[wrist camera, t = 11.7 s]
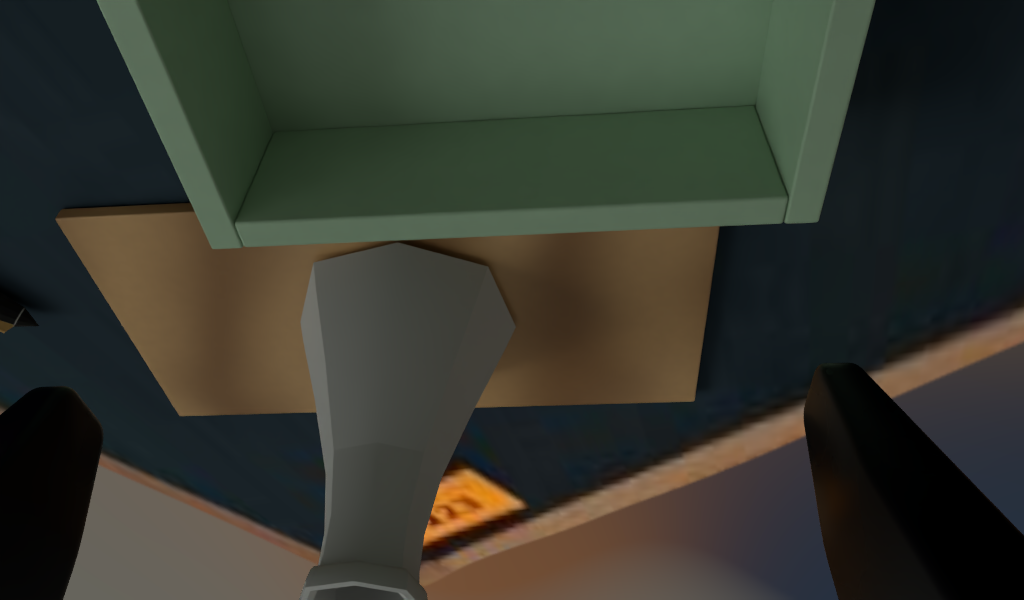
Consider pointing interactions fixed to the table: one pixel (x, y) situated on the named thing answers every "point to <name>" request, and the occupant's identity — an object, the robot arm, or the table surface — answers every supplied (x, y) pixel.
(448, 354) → the flask
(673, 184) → the bin
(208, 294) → the cork mat
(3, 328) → the fountain pen
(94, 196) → the table surface
